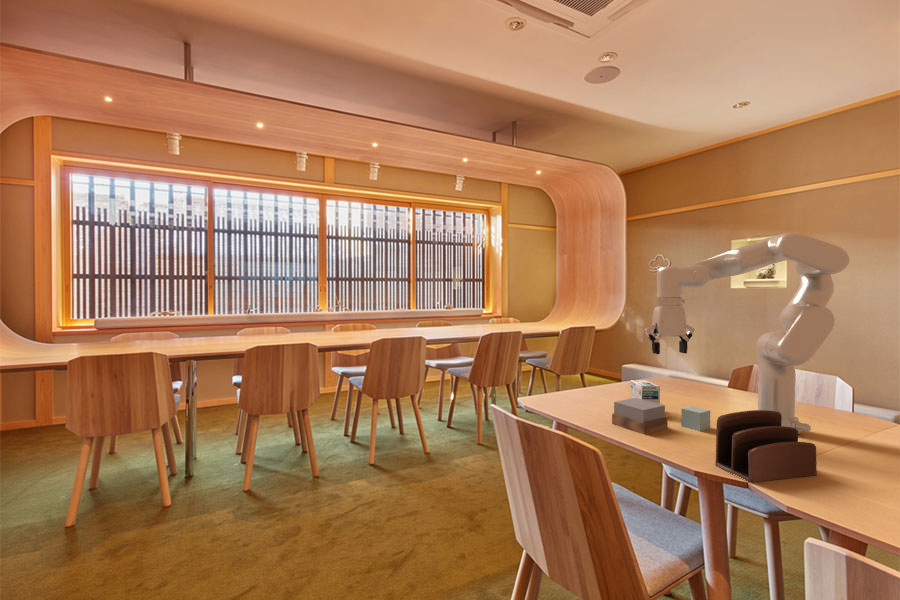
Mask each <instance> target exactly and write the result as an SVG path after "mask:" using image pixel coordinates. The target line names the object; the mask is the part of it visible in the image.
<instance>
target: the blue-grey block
mask: <svg viewBox="0 0 900 600" xmlns="http://www.w3.org/2000/svg"><path fill="white" fill-rule="evenodd" d="M680 420H681V422H680V423H681V427H683V428H687V429H689V428H690V430H693V429H694V431H696V430H697V431H696V432H703V431H706V429H707V430H710V429H711V410H710V409H707V408H706V409H705V408H701V407H697V406H694V405H690V406H687V407H682V408H681V419H680ZM709 428H710V429H709Z"/></svg>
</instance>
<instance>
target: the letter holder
mask: <svg viewBox="0 0 900 600" xmlns="http://www.w3.org/2000/svg"><path fill="white" fill-rule="evenodd" d="M781 423H782V415H781V413H780V412H777V411H768V410H758V409H757V410H754V409H753V410H745V411H744V410H743V411H737V412H735V411H734V412H731V413H727V414H722V415H720V416H718V417H717V420H716V434H715V435H716V437H715V438H716V439H715V464H714V465H715V467H717V468H718V467H719V468H718V469H720V468H721V470H723V471H725V472H727V473H729V472H730V473H729V474H731V473H732V474H731V475H733V474H735V475H737V476H739V477H741V478H743V479H745V480H746V481H745V480H744V481H745V482H747V481H748V482H747V483H750V482H751V483H758V482H759V481H760V482H768V481H769V480H770V481H778V479H779V480H786V479H787V480H788V479H794V478H804V477H805V478H806V477H813V476H817V475H818V473H817V472H818V471H817V466H818V465H817V464H818V462H817V445H816V444H815V443H812V442H807V441H799V434H798V430H797V429H796V428H793V427H785V426H781ZM735 475H734V476H735ZM737 476H736V477H737ZM739 477H738V478H739ZM741 478H740V479H741ZM743 479H742V480H743ZM760 482H759V483H760ZM751 483H750V484H751Z"/></svg>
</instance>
